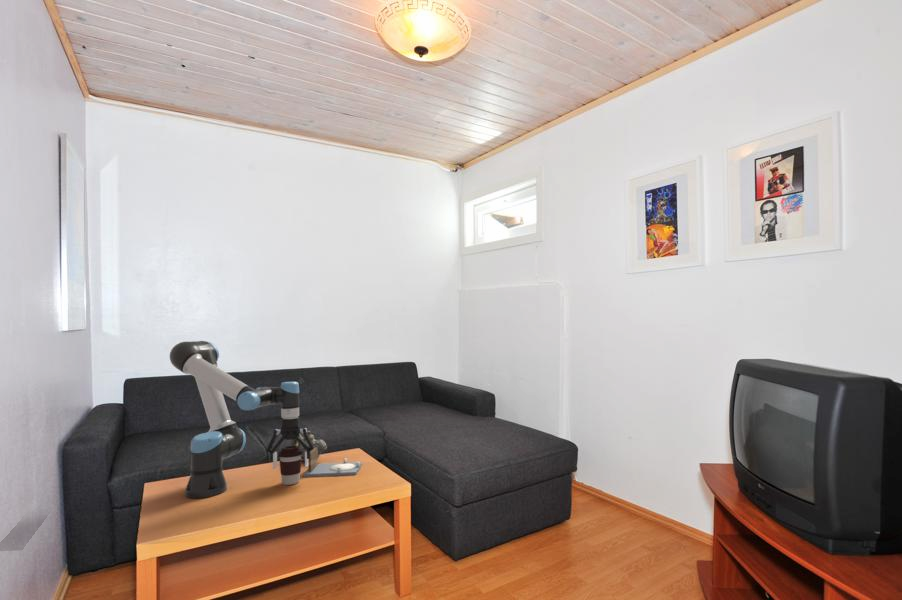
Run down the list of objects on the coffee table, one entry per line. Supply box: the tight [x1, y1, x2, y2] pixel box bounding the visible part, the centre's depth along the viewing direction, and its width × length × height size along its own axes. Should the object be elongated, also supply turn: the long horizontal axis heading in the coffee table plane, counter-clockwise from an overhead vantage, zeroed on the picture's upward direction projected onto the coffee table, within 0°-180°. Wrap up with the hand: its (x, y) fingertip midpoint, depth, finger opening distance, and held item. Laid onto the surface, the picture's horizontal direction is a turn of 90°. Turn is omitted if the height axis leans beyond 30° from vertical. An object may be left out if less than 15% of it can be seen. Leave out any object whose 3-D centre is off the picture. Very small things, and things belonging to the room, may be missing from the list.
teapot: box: [291, 430, 328, 462], centre depth 236 cm, size 21×12×15 cm, turn 68°
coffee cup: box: [278, 445, 303, 486], centre depth 200 cm, size 10×10×15 cm
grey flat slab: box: [302, 458, 363, 478], centre depth 217 cm, size 24×17×3 cm
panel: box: [307, 447, 319, 472], centre depth 216 cm, size 3×12×8 cm, turn 2°
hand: (290, 467), depth 200 cm, fingers open, 13 cm apart
